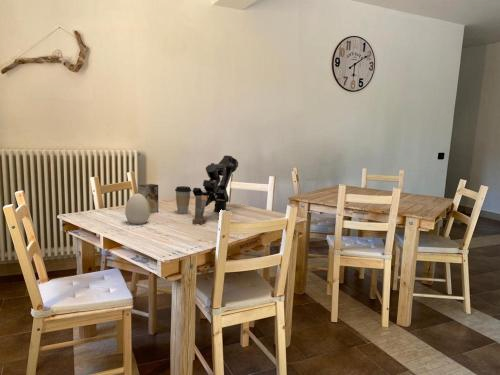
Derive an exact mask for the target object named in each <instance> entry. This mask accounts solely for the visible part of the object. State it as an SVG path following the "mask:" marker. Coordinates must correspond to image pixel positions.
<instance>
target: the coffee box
mask: <svg viewBox="0 0 500 375" xmlns="http://www.w3.org/2000/svg"><path fill="white" fill-rule="evenodd" d="M138 194H141V195H143V196H144V197H145V198H146V199H147V201H148V203H149V206H150V214H153V213H158V212H159V184H156V183H155V184H154V183H147V184H139V186H138Z"/></svg>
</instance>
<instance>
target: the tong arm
mask: <svg viewBox="0 0 500 375" xmlns="http://www.w3.org/2000/svg"><path fill="white" fill-rule="evenodd" d="M201 196H202V205H201V218H203V217H204V213H205V210H206V207H205V205H206V201H207V198H208V196H209V195H208V196H204V195H201Z"/></svg>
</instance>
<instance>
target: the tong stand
mask: <svg viewBox="0 0 500 375" xmlns="http://www.w3.org/2000/svg"><path fill="white" fill-rule="evenodd" d="M194 200H195V203H194V206H195V209H194V215H195V216H194V218H192V225H196V224H199V225H198V226H203V225H204V224H206V223H207V221H208V220H207V218H208V217H204V216H203V218H201V205H202V196H196V197H195V199H194ZM205 222H206V223H205ZM203 223H204V224H203Z"/></svg>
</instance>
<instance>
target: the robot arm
mask: <svg viewBox="0 0 500 375" xmlns="http://www.w3.org/2000/svg"><path fill="white" fill-rule="evenodd" d="M238 167H239V161H238V159H236V158H234V157H233V156H232V155H226V154H225V155H223V156H222V159H221V160H220V161H219V162H218V163H216V164H215V163H213V162H211V163H210V164H208V165H207V166H206V167H205V171H206V174H207V177H208V178H209V180H208V179H204V180H203V182H202V187H204V188H203V189H201V187H193V189H192V193H193V195H194V197H195V198H196V196H201V195H204V196H208V198H207V201H206V205H205V208H206V207H208V206H209V205H210V204H211V203H212V202H214V209H213V210H214V211H213V212H216V211H220V210H221V209H222V210H227V203H230V202H229V201H230V200H229V199H230V197H229V195H228V191H227V188H228V186H229V182H230V180H231V177H232V175H233V174H232V173H234V172H235V171H237V168H238Z"/></svg>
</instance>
